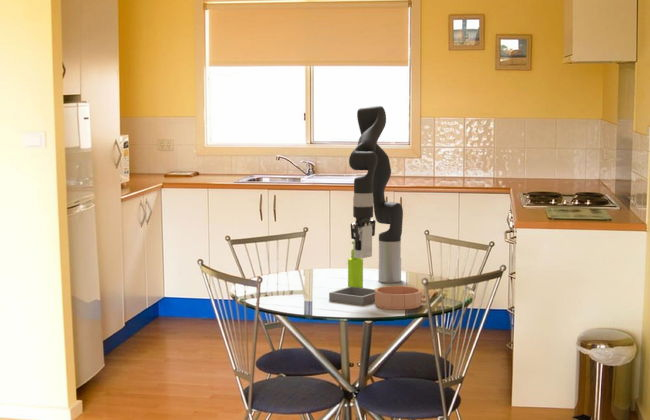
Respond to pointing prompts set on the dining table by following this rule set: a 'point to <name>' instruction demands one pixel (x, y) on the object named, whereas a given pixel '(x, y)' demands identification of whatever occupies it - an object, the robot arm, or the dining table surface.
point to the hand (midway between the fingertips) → (363, 248)
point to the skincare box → (364, 243)
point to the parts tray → (353, 295)
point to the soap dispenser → (355, 270)
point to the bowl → (397, 297)
